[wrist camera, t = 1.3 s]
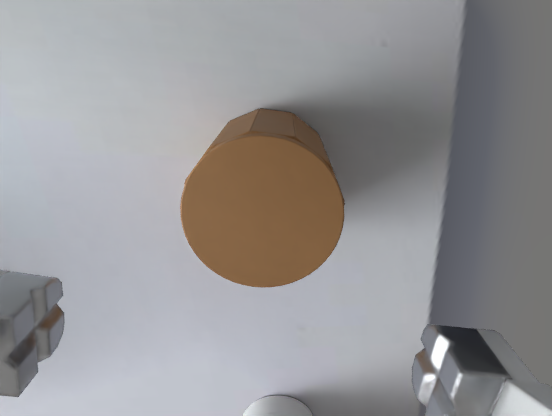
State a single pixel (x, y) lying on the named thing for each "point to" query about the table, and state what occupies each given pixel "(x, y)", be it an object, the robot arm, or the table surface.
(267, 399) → the binoculars
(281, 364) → the table surface
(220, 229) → the brown cylinder
